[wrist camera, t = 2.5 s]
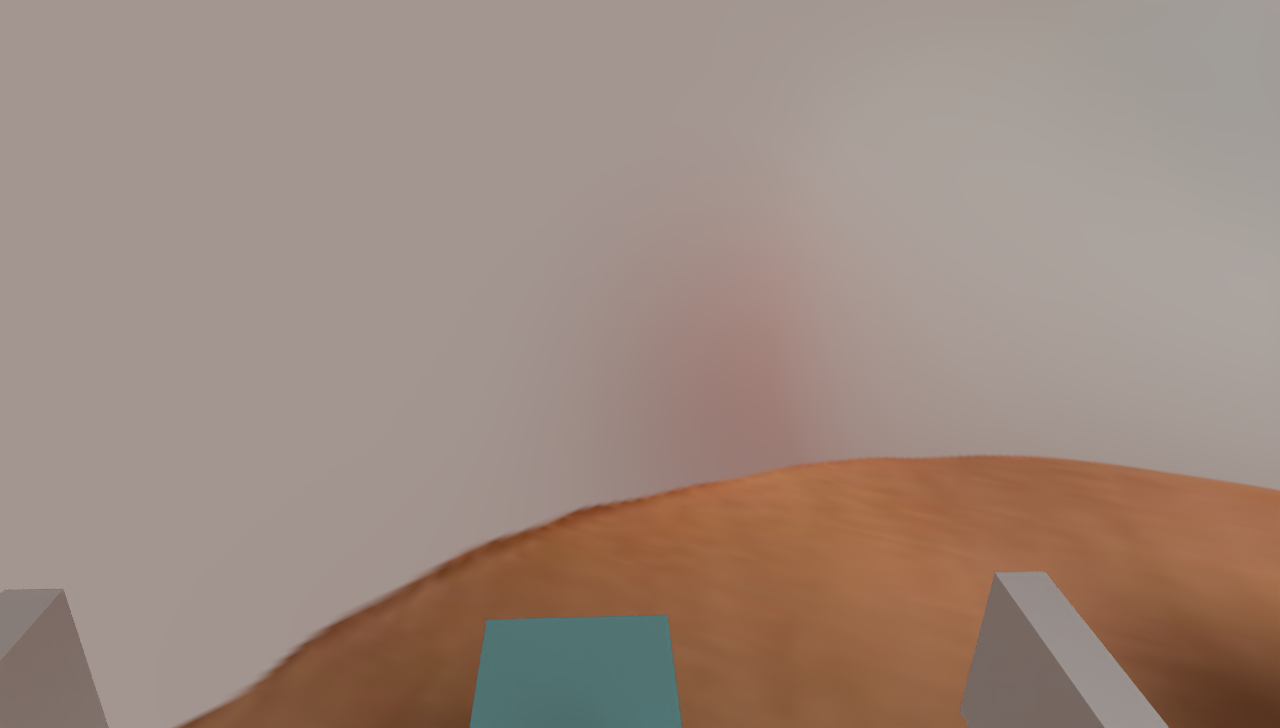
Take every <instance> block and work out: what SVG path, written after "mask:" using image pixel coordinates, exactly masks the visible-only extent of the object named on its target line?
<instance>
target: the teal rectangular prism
mask: <svg viewBox="0 0 1280 728" xmlns="http://www.w3.org/2000/svg"><path fill="white" fill-rule="evenodd" d="M469 728H682V722H681V715H680V707H679V699H678V692H677V684H676V677H675V669H674V661H673V654H672V646H671V639H670V631H669V624H668V616H667V615H641V616H604V617H566V618H528V619H490V620H486V625H485V632H484V638H483V644H482V651H481V657H480V664H479V670H478V676H477V683H476V689H475V696H474V702H473V708H472V715H471V721H470V727H469Z"/></svg>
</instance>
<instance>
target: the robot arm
mask: <svg viewBox="0 0 1280 728" xmlns="http://www.w3.org/2000/svg"><path fill="white" fill-rule="evenodd" d="M960 712H961V714H962V716H963V718H964V720H965V722H966V724H967V726H968V728H1169V727H1168V726H1167V724H1166V723H1165V722H1164V721H1163V719H1162V718H1161V717H1160V716H1159V714H1158V713H1157V712H1156V711H1155V709H1154V708H1153V707H1152V706H1151V704H1150V703H1149V702H1148V701H1147V699H1146V698H1145V697H1144V695H1143V694H1142V693H1141V692H1140V690H1139V689H1138V688H1137V687H1136V685H1135V684H1134V683H1133V682H1132V680H1131V679H1130V678H1129V677H1128V675H1127V674H1126V673H1125V672H1124V670H1123V669H1122V668H1121V667H1120V665H1119V664H1118V663H1117V662H1116V660H1115V659H1114V658H1113V657H1112V655H1111V654H1110V653H1109V651H1108V650H1107V649H1106V648H1105V646H1104V645H1103V644H1102V643H1101V641H1100V640H1099V639H1098V638H1097V636H1096V635H1095V634H1094V633H1093V631H1092V630H1091V629H1090V628H1089V626H1088V625H1087V624H1086V623H1085V621H1084V620H1083V619H1082V618H1081V616H1080V615H1079V614H1078V613H1077V611H1076V610H1075V609H1074V608H1073V606H1072V605H1071V604H1070V602H1069V601H1068V600H1067V599H1066V597H1065V596H1064V595H1063V594H1062V592H1061V591H1060V590H1059V589H1058V587H1057V586H1056V585H1055V584H1054V582H1053V581H1052V580H1051V579H1050V577H1049V576H1048V575H1047V574H1046V572H996V573H995V574H994V578H993V581H992V585H991V589H990V593H989V597H988V601H987V605H986V609H985V613H984V617H983V621H982V625H981V629H980V633H979V637H978V641H977V645H976V649H975V652H974V656H973V660H972V664H971V668H970V672H969V676H968V680H967V684H966V688H965V692H964V696H963V700H962V704H961V708H960ZM0 728H108V725H107V722H106V719H105V716H104V713H103V710H102V706H101V703H100V700H99V697H98V695H97V691H96V688H95V685H94V682H93V679H92V676H91V673H90V670H89V667H88V664H87V660H86V657H85V654H84V651H83V648H82V645H81V642H80V639H79V636H78V633H77V630H76V627H75V624H74V621H73V617H72V615H71V611H70V608H69V605H68V602H67V599H66V596H65V593H64V590H63V589H33V590H32V589H30V590H4V591H3V592H2V593H1V594H0Z"/></svg>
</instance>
